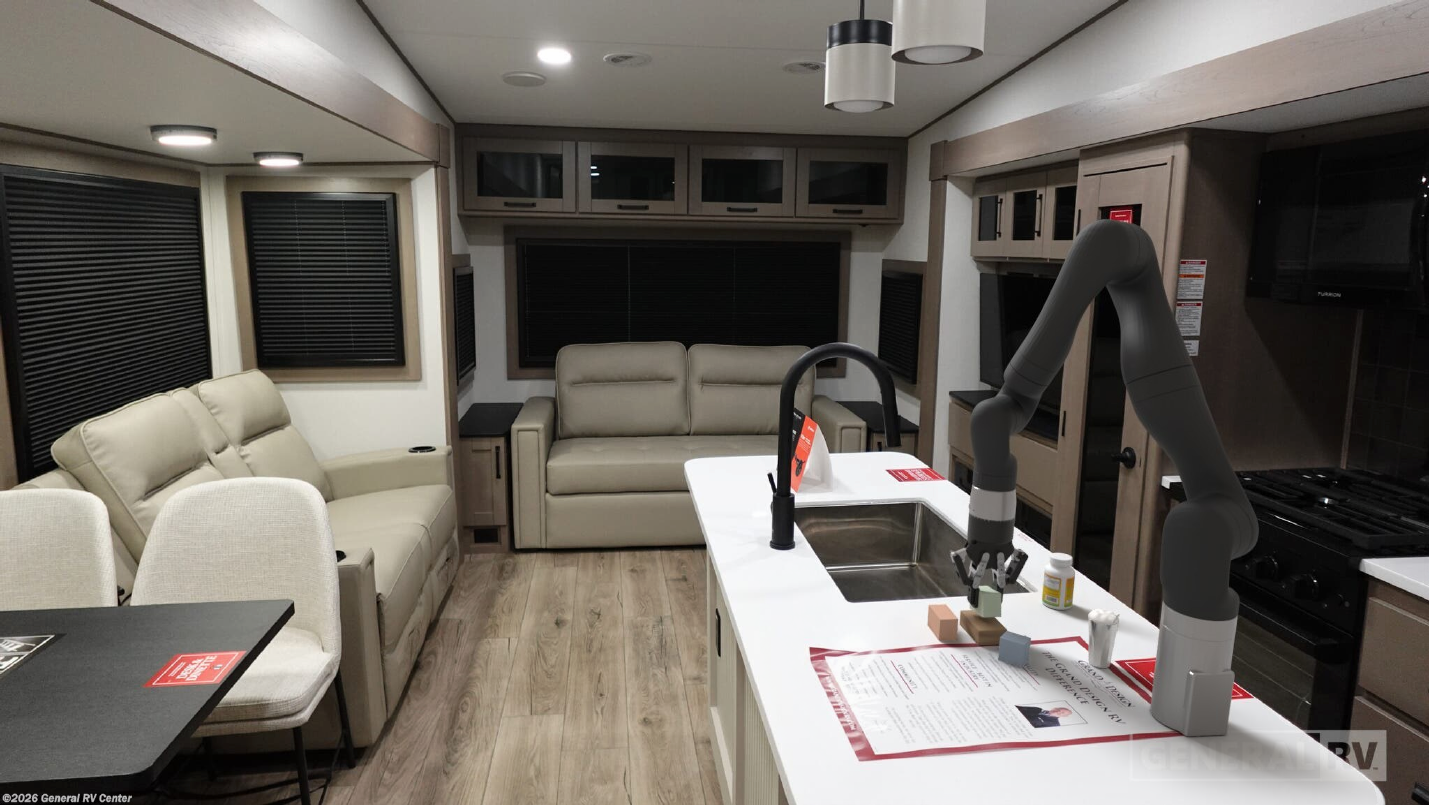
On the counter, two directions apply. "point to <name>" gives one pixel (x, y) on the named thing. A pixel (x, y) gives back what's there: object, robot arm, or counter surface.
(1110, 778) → the counter surface
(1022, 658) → the slate brick
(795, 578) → the counter surface
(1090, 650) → the milkshake
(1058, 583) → the supplement bottle
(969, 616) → the walnut block
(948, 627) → the terracotta brick
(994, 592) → the sage brick
